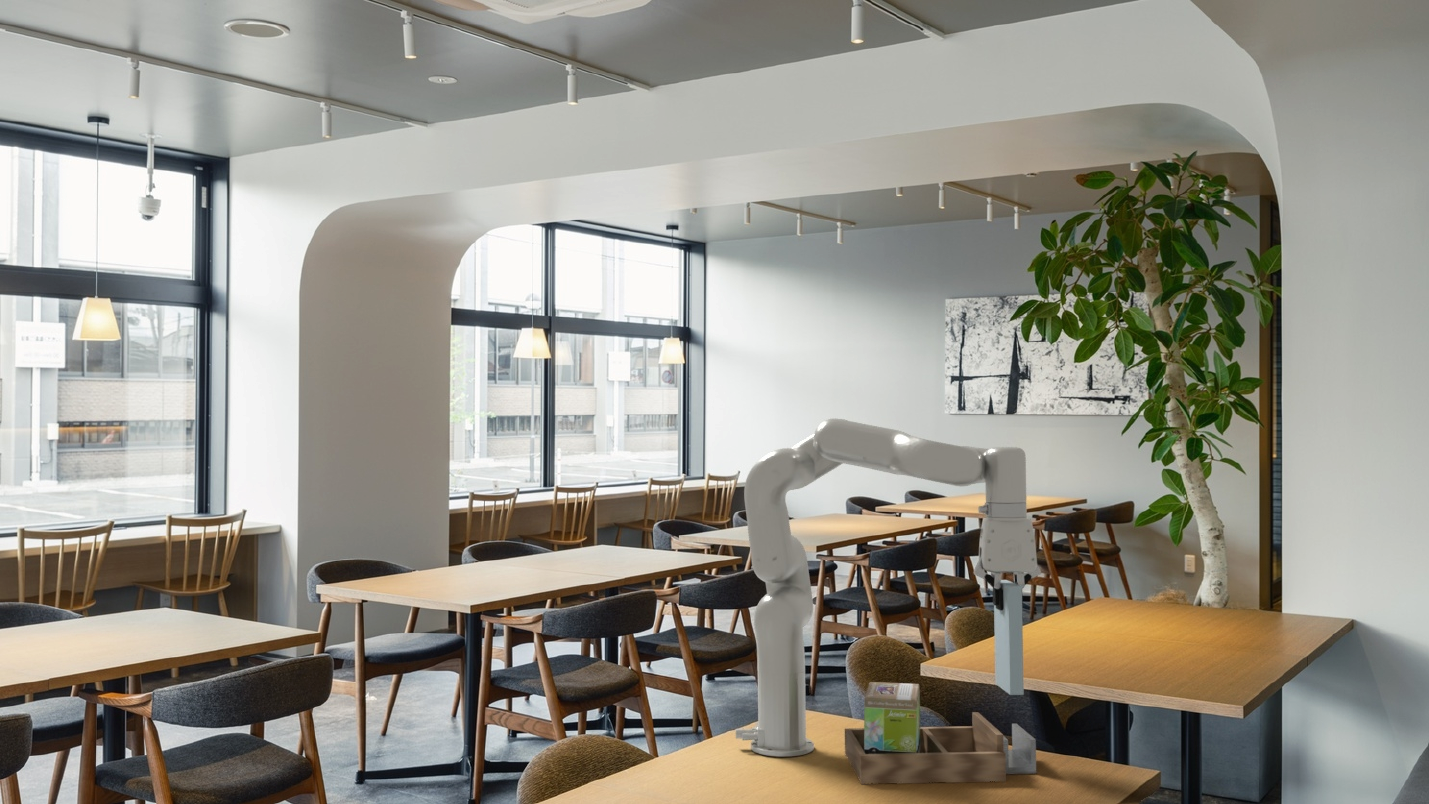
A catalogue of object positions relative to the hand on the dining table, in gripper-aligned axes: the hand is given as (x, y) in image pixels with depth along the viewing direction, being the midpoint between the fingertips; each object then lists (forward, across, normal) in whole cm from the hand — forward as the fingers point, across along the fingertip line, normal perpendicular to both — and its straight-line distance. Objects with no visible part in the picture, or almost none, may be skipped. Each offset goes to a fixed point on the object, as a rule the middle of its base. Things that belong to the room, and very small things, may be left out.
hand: (1007, 608), depth 219 cm
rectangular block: (+15, 0, 0) cm, 15 cm away
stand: (+29, 0, 0) cm, 29 cm away
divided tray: (+29, -17, 0) cm, 34 cm away
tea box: (+30, -22, 0) cm, 37 cm away
